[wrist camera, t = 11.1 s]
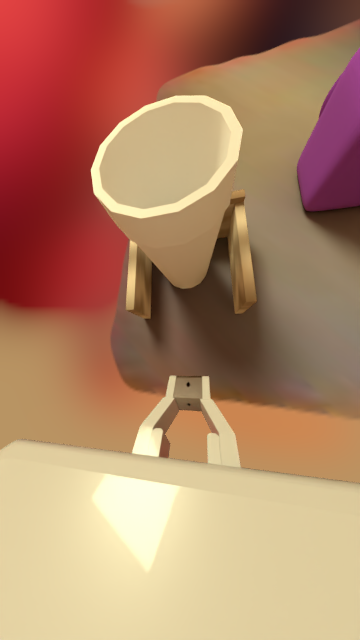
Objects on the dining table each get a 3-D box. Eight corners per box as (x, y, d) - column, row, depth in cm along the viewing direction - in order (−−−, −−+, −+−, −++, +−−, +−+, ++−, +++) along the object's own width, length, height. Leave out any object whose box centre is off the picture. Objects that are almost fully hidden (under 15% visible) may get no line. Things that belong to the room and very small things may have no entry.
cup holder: (242, 313, 18) (259, 299, 13) (144, 318, 20) (122, 308, 15) (233, 230, 21) (244, 189, 15) (146, 243, 23) (129, 211, 17)
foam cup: (146, 269, 22) (69, 167, 9) (189, 232, 22) (169, 79, 9) (183, 311, 20) (146, 248, 7) (231, 269, 20) (282, 130, 7)
